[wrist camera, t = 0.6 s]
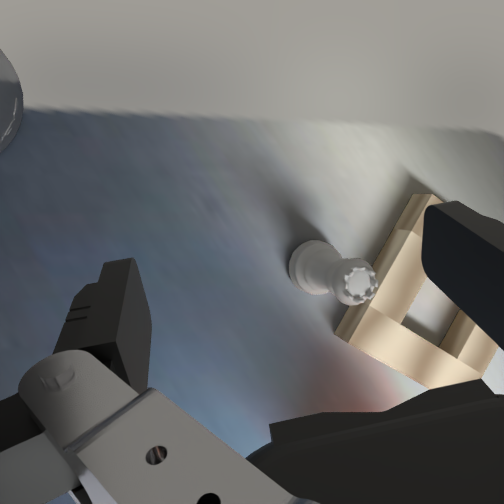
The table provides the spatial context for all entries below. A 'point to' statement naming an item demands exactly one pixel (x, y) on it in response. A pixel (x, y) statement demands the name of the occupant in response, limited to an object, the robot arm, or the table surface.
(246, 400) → the table surface
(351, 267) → the rook chess piece
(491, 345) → the wooden square ring
